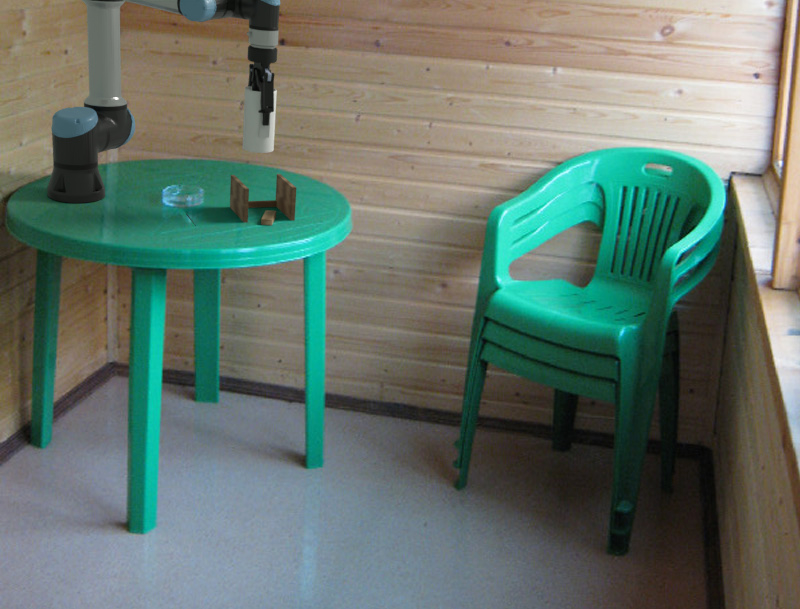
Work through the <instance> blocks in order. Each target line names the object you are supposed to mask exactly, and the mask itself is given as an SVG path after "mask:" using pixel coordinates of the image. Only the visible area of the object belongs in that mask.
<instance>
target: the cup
mask: <svg viewBox="0 0 800 609" xmlns="http://www.w3.org/2000/svg"><path fill="white" fill-rule="evenodd" d="M277 93H278V90H277V88H275V87H274V112H271V113H270V132H269V137H268V138H259V137H258V135H259V114H260V113H259V112H258V111H259V110H261V104H260V100H261V92H258V91H252V86H248V85H247V86H245V87H244V103H243V104H244V105H243V107H244V108H243V126H242V127H243V129H242V130H243V132H242V149H243V151H246V152H248V153H249V152H251V153H254V154H255V153H256V154H265V153H266V154H268V153H272V152H274V148H275V132H276V111H277V95H278V94H277Z"/></svg>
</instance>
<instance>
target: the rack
mask: <svg viewBox="0 0 800 609" xmlns="http://www.w3.org/2000/svg"><path fill="white" fill-rule="evenodd" d="M275 184H276V185H275V199H273V200H271V199H270V200H269V199H268V200H249V198H250V197H249V193H250V189H249V188H248V186H246V184H245V183H244V182H242V181H241V180H240V179H239V177H237V175H235V174H230V189H229V190H230V192H229V194H230V195H229V196H230V197H229V208H230V209H231V211H233V212H234V214H235V215H236V216H238V218H239V219H240V220H241V221H242V222H243V223H244V224H245V223H248V222H249V208H255V209H256V208H274V207H275V208H278V210H279V211H280V212H281V213H282V214H283V215H285V216H286V217H287V219H289V220H290V221H296V206H297V203H296V202H297V201H296V200H297V198H296V197H297V187H296V186H295V185H294V184H293V183H292V182H290V180H288V179H287V178H286V177H285V176H283V175H282V174H281V173H277V174H276V183H275Z"/></svg>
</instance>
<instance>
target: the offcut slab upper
mask: <svg viewBox="0 0 800 609" xmlns="http://www.w3.org/2000/svg"><path fill="white" fill-rule="evenodd" d="M276 218H277V210H269V209H268V210H267V209H265V211H264V213H263V215H262V217H261V219H260V225H261V226H273V224H274V222H275V219H276Z"/></svg>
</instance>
